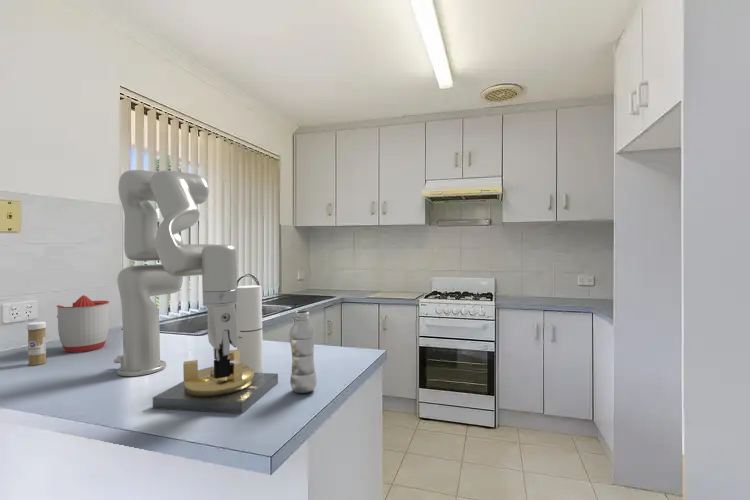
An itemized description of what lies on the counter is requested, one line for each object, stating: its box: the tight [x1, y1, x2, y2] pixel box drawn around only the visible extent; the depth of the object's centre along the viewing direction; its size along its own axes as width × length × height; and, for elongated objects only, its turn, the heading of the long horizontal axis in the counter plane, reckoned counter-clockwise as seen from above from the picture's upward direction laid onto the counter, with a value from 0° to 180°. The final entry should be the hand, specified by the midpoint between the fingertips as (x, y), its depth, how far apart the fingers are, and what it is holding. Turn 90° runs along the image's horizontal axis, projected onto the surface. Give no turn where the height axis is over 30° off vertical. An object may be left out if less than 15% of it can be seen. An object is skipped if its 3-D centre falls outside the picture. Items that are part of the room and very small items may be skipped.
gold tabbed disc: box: [182, 349, 254, 396], centre depth 96 cm, size 16×16×6 cm
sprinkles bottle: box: [26, 321, 48, 366], centre depth 125 cm, size 5×5×14 cm
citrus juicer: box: [56, 294, 110, 353], centre depth 143 cm, size 16×17×20 cm
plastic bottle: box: [288, 310, 318, 394], centre depth 97 cm, size 6×7×20 cm
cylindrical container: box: [235, 284, 264, 373], centre depth 113 cm, size 7×7×25 cm
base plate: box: [152, 372, 279, 414], centre depth 96 cm, size 22×19×3 cm
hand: (222, 376), depth 90 cm, fingers closed
